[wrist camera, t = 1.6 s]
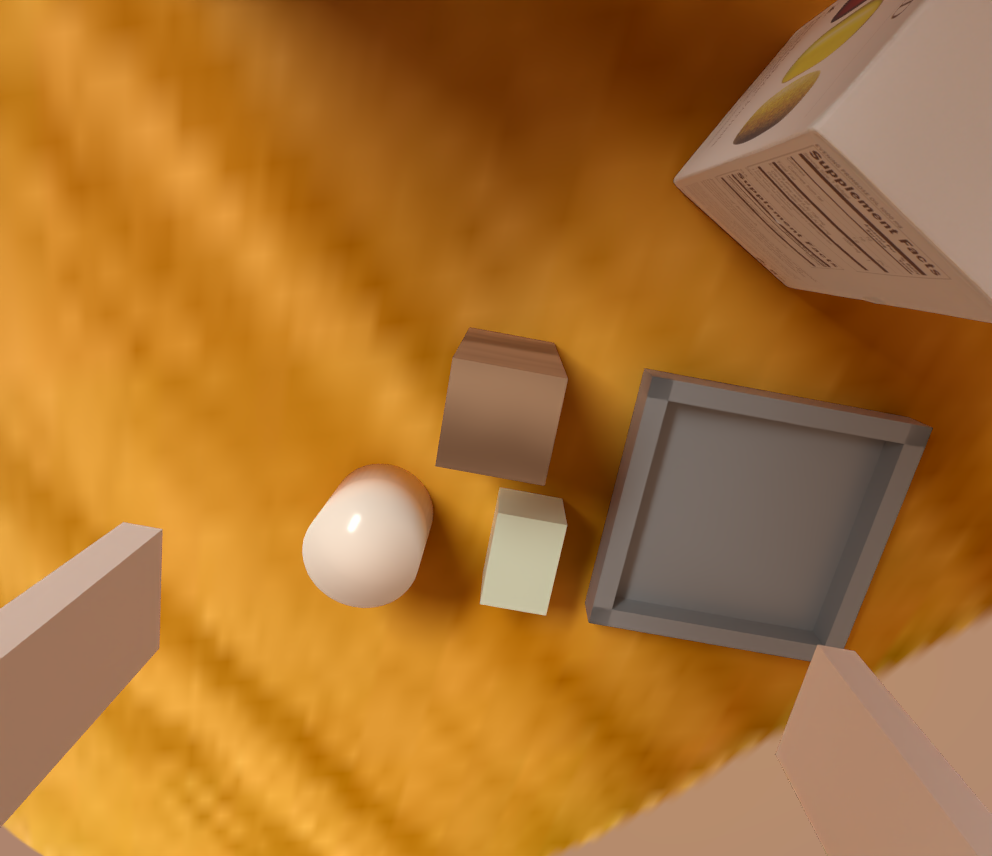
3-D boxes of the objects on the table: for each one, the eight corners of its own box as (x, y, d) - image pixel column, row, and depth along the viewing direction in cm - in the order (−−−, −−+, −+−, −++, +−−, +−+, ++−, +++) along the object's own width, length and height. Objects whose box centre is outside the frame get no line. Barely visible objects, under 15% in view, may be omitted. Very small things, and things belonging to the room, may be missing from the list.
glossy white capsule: (338, 455, 38) (307, 492, 33) (440, 473, 39) (427, 513, 33) (328, 546, 40) (297, 596, 34) (425, 563, 40) (410, 616, 35)
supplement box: (796, 25, 31) (1102, -214, 15) (920, 148, 32) (1322, 53, 16) (665, 185, 33) (806, 129, 17) (786, 293, 35) (1022, 336, 19)
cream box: (499, 486, 39) (497, 512, 35) (562, 497, 39) (567, 525, 35) (483, 570, 40) (479, 604, 37) (543, 580, 41) (546, 615, 37)
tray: (644, 368, 36) (652, 376, 34) (908, 417, 37) (932, 427, 34) (584, 603, 41) (588, 622, 39) (820, 644, 41) (836, 666, 39)
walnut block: (469, 327, 36) (453, 357, 26) (554, 342, 36) (568, 378, 26) (456, 409, 37) (435, 466, 28) (537, 423, 37) (544, 485, 28)
